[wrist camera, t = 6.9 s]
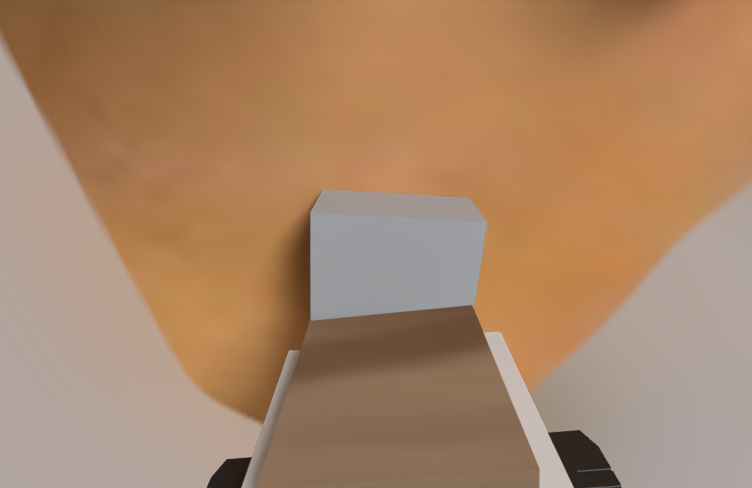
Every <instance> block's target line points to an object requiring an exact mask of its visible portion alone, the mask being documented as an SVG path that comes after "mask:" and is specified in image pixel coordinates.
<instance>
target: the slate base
mask: <svg viewBox="0 0 752 488" xmlns="http://www.w3.org/2000/svg"><path fill="white" fill-rule="evenodd" d="M486 227H487V221H486V220H485V218H484V217H483V216H482V214H481V213H480V212H479V210H478V209H477V207H476V206H475V205H474V203H473V202H472V200H471V199H470V198H469V197H452V196H434V195H416V194H398V193H380V192H362V191H343V190H325V189H323V190H322V192H321V194H320V195H319V197H318V199H317V201H316V203H315V205H314V207H313V208H312V210H311V212H310V285H311V321H313V320H323V319H333V318H343V317H354V316H364V315H374V314H385V313H395V312H405V311H416V310H426V309H436V308H447V307H457V306H467V305H472V306H473V308H474V305H475V298H476V292H477V285H478V279H479V273H480V266H481V260H482V253H483V247H484V240H485V234H486Z"/></svg>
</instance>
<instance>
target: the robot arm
mask: <svg viewBox="0 0 752 488" xmlns="http://www.w3.org/2000/svg"><path fill="white" fill-rule="evenodd" d="M484 335H485V338H486V340H487V342H488V345H489V347H490V350H491V352H492V355H493V357H494V359H495V362H496V364H497V367H498V369H499V372H500V374H501V376H502V379H503V381H504V384H505V386H506V389H507V391H508V393H509V396H510V398H511V401H512V403H513V405H514V408H515V410H516V413H517V415H518V418H519V420H520V422H521V425H522V427H523V430H524V432H525V435H526V437H527V439H528V442H529V444H530V447H531V449H532V452H533V454H534V456H535V459H536V461H537V464H538V466H539V469H540V480H539V488H621V484H620V482H619V481H618V479H617V477H616V476H615V474H614V472H613V471H611V467H610V465H609V464H608V462H607V460H606V459H605V457H604V455H603V454H602V452H601V450H600V448H599V447H598V446H597V445H596V444H595V443H594V442H592V441H591V440H590V439H589V438H588V437H587V436H585V435H584V434H583V433H582V432H581V431H579V430H577V431H564V432H553V433H552V432H551V433H548V432H547V430H546V428H545V426H544V424H543V422H542V419H541V418H540V416H539V413H538V411H537V409H536V407H535V405H534V403H533V400H532V398H531V396H530V394H529V392H528V390H527V388H526V385H525V383H524V381H523V379H522V377H521V375H520V373H519V371H518V368H517V366H516V364H515V362H514V360H513V358H512V356H511V354H510V352H509V349H508V347H507V345H506V343H505V341H504V339H503V337H502V335H501V332H500V331H499V332H488V333H484ZM299 353H300V350H291V351H289V352H288V355H287V357H286V360H285V363H284V366H283V369H282V372H281V375H280V378H279V381H278V383H277V386H276V389H275V392H274V395H273V398H272V401H271V404H270V407H269V409H268V412H267V415H266V418H265V421H264V424H263V427H262V430H261V433H260V436H259V438H258V441H257V444H256V447H255V450H254V453H253V456H252V457H249V458H237V459H227V460H226V461H225V462H224V463H223V464H222V466H221V467H220V468H219V469H218V470H217V471H216V472H215V474H214V475H213V476H212V477H211V479H210V482H209V484H208V486H207V488H257V484H258V481H259V478H260V475H261V472H262V469H263V466H264V462H265V459H266V456H267V453H268V450H269V447H270V444H271V441H272V437H273V434H274V431H275V428H276V425H277V422H278V419H279V416H280V412H281V409H282V406H283V403H284V400H285V397H286V394H287V390H288V387H289V384H290V381H291V378H292V375H293V372H294V369H295V365H296V362H297V359H298V356H299Z"/></svg>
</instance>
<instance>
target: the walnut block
mask: <svg viewBox="0 0 752 488" xmlns="http://www.w3.org/2000/svg"><path fill="white" fill-rule="evenodd" d="M539 480H540V469H539V466H538V464H537V461H536V459H535V456H534V454H533V452H532V449H531V447H530V444H529V442H528V439H527V437H526V435H525V432H524V430H523V427H522V425H521V422H520V420H519V418H518V415H517V413H516V410H515V408H514V405H513V403H512V401H511V398H510V396H509V393H508V391H507V389H506V386H505V384H504V381H503V379H502V376H501V374H500V372H499V369H498V367H497V364H496V362H495V359H494V357H493V355H492V352H491V350H490V347H489V345H488V342H487V340H486V338H485V335H484V333H483V330H482V328H481V325H480V323H479V321H478V318H477V316H476V313H475V311H474V308H473V306H472V305H467V306H457V307H447V308H436V309H426V310H416V311H405V312H395V313H385V314H374V315H364V316H354V317H343V318H333V319H323V320H313V321H310V322H309V325H308V328H307V331H306V334H305V337H304V340H303V344H302V347H301V350H300V353H299V356H298V359H297V362H296V365H295V369H294V372H293V375H292V378H291V381H290V384H289V387H288V390H287V394H286V397H285V400H284V403H283V406H282V409H281V412H280V416H279V419H278V422H277V425H276V428H275V431H274V434H273V437H272V441H271V444H270V447H269V450H268V453H267V456H266V459H265V462H264V466H263V469H262V472H261V475H260V478H259V481H258V484H257V488H539Z"/></svg>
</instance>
